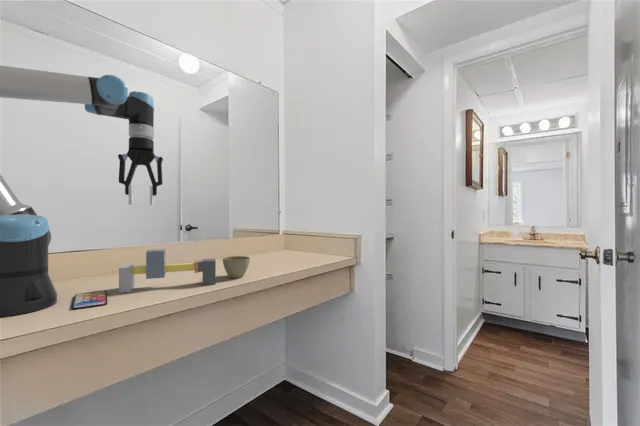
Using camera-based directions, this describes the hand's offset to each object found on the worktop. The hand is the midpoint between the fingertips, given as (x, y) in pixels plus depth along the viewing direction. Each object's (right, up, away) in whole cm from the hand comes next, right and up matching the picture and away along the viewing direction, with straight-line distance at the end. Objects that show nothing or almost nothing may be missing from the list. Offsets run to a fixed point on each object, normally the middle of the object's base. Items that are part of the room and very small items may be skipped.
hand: (141, 204), depth 105 cm
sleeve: (+10, -24, -9) cm, 27 cm away
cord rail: (+14, -27, -7) cm, 31 cm away
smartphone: (-1, -28, -23) cm, 36 cm away
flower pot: (+31, -27, +8) cm, 42 cm away
